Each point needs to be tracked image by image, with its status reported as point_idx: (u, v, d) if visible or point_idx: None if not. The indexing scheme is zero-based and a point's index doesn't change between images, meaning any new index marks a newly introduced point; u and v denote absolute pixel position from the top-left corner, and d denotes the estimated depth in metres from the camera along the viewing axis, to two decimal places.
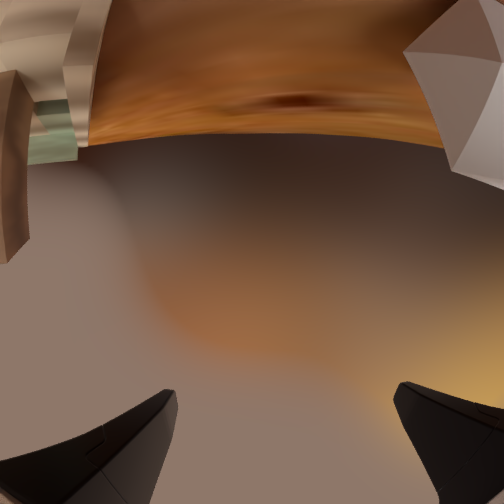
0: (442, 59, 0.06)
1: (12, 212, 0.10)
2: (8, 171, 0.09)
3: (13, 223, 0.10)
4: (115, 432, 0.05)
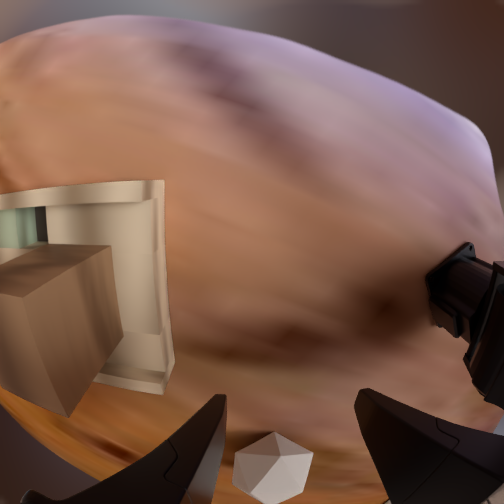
0: (255, 456, 0.21)
1: None
2: None
3: None
4: (185, 445, 0.05)
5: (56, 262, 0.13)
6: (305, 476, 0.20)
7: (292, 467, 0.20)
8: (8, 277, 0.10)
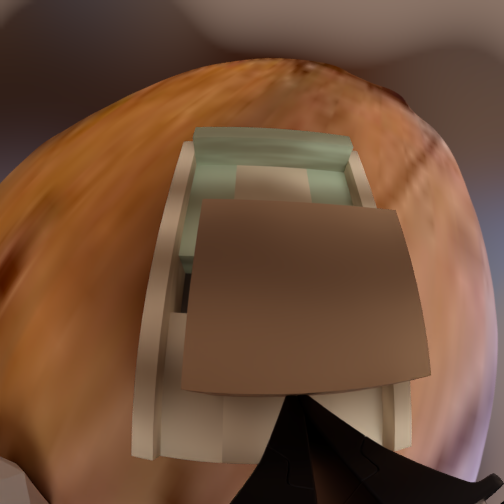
0: (27, 499, 0.07)
1: None
2: None
3: None
4: (289, 449, 0.05)
5: None
6: None
7: None
8: None
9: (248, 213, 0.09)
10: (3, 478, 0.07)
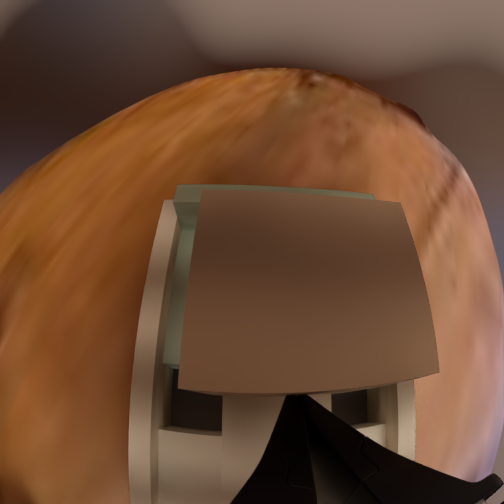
0: None
1: None
2: None
3: None
4: (289, 449, 0.05)
5: None
6: None
7: None
8: None
9: (249, 204, 0.08)
10: None
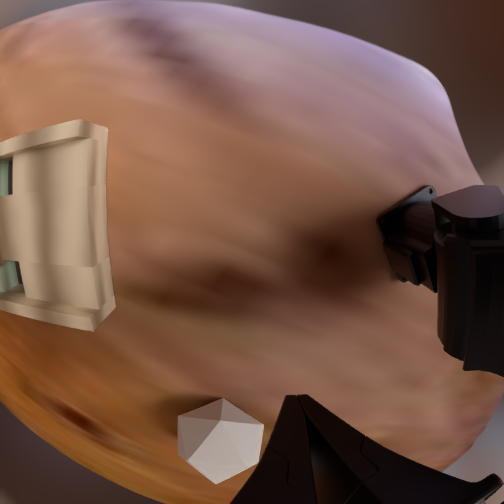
0: (196, 420, 0.21)
1: None
2: None
3: None
4: (289, 449, 0.05)
5: None
6: (251, 449, 0.20)
7: (234, 436, 0.20)
8: None
9: None
10: (181, 435, 0.20)
